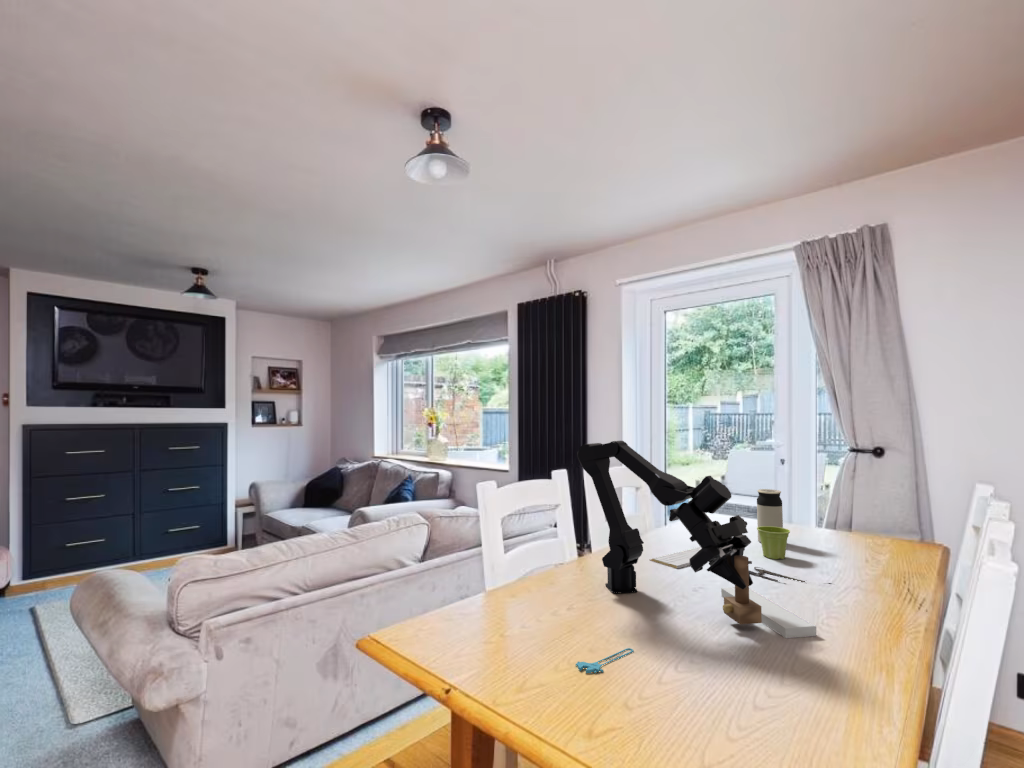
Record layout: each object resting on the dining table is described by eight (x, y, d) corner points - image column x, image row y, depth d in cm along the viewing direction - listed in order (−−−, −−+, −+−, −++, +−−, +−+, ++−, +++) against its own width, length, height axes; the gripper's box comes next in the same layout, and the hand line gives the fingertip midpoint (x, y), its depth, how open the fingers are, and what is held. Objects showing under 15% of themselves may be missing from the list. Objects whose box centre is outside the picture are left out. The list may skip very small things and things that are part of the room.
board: (785, 638, 106) (785, 628, 106) (721, 596, 129) (721, 588, 130) (816, 635, 107) (816, 625, 107) (747, 594, 130) (747, 586, 131)
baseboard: (645, 561, 162) (677, 571, 152) (645, 551, 162) (676, 560, 152) (707, 545, 179) (739, 553, 169) (707, 537, 179) (738, 544, 169)
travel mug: (762, 545, 177) (760, 492, 178) (755, 539, 185) (753, 488, 186) (786, 545, 176) (785, 492, 177) (778, 540, 184) (777, 489, 185)
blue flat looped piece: (591, 674, 91) (571, 663, 95) (591, 679, 91) (571, 668, 95) (641, 651, 99) (621, 641, 103) (642, 656, 99) (621, 646, 103)
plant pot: (760, 551, 170) (759, 524, 170) (793, 555, 164) (792, 528, 165) (754, 558, 162) (754, 530, 163) (788, 563, 157) (787, 534, 157)
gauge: (732, 624, 108) (731, 562, 109) (717, 613, 114) (716, 554, 115) (761, 623, 109) (760, 560, 110) (744, 611, 115) (743, 552, 116)
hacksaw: (734, 572, 150) (734, 567, 150) (753, 565, 156) (753, 560, 156) (823, 596, 130) (823, 590, 130) (841, 587, 136) (841, 581, 136)
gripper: (701, 510, 110) (755, 575, 101) (742, 499, 122) (792, 557, 113) (669, 540, 115) (717, 604, 107) (710, 527, 128) (757, 584, 119)
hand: (748, 586), depth 111 cm, fingers closed on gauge, 3 cm apart
